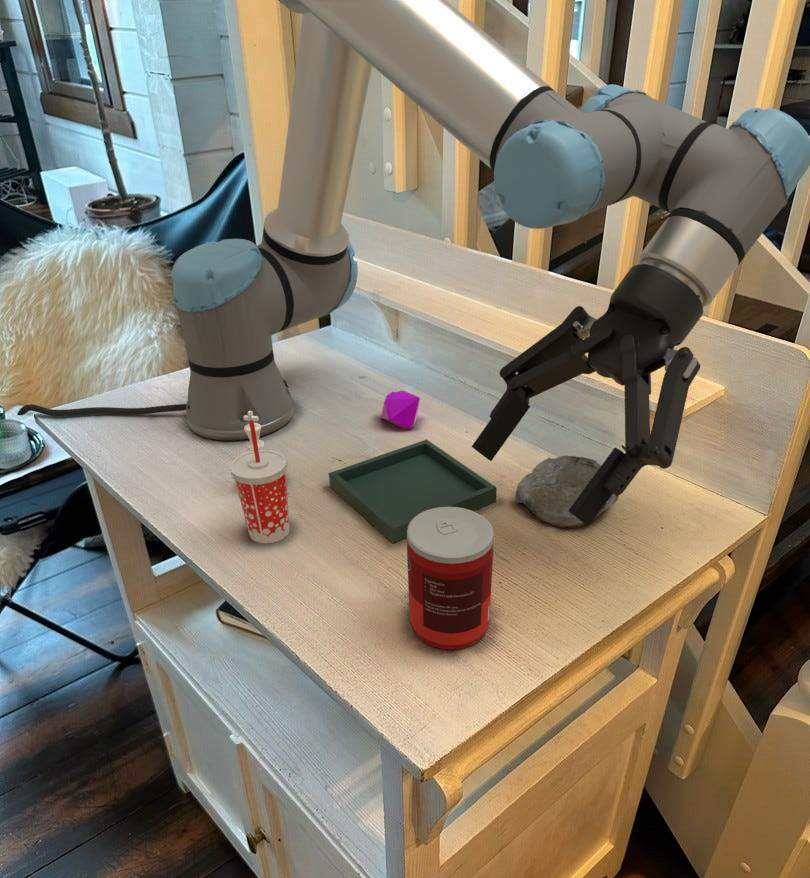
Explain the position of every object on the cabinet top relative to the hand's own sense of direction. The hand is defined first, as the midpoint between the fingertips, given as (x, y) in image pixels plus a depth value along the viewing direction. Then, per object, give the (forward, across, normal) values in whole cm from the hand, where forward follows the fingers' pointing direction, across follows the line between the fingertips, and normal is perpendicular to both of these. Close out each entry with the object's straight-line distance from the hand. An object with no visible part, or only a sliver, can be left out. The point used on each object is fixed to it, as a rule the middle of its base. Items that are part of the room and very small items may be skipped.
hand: (526, 484), depth 69 cm
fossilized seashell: (-2, +9, -20) cm, 22 cm away
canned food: (+15, 0, -3) cm, 15 cm away
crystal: (+2, +38, -16) cm, 42 cm away
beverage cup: (+21, +24, +2) cm, 32 cm away
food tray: (+8, +22, -10) cm, 25 cm away
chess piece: (+18, +34, 0) cm, 39 cm away
